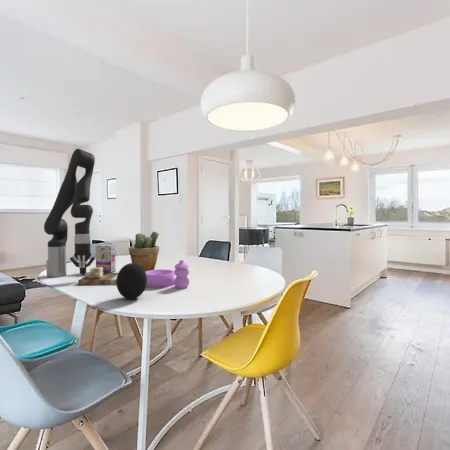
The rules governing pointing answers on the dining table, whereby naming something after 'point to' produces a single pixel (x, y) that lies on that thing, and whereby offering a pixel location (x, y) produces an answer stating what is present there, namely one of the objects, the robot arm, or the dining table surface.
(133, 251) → the potted plant
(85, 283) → the board
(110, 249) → the candy bar box
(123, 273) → the decorative egg
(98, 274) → the block
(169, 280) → the container set
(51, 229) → the robot arm
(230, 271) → the dining table surface
